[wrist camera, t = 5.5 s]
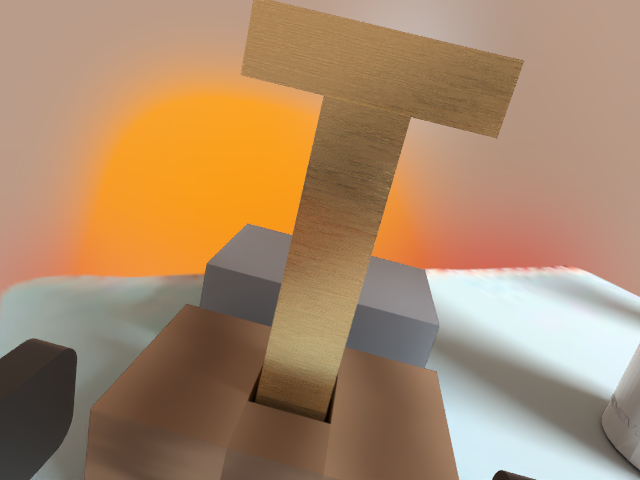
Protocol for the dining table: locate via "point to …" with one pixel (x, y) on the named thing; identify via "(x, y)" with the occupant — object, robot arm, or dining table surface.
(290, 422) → the block
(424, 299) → the block
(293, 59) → the t key
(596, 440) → the dining table surface
